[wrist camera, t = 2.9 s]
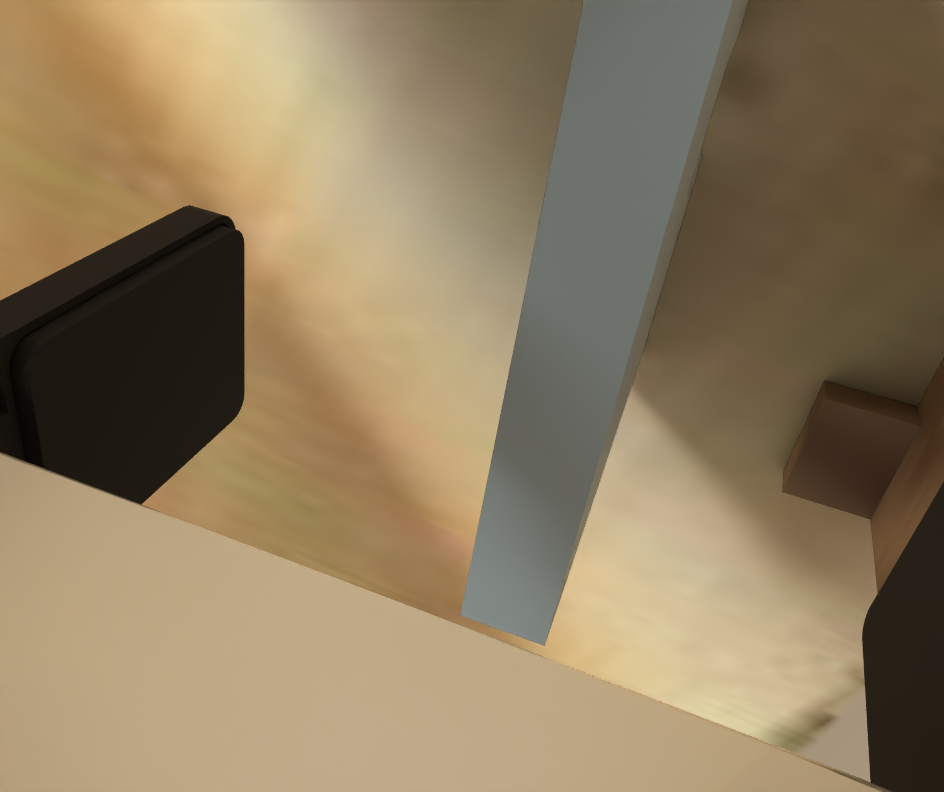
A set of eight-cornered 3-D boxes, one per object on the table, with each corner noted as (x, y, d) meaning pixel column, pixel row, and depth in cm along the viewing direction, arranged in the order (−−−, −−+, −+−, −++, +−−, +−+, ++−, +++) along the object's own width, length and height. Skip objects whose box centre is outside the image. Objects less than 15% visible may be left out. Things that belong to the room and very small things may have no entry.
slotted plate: (751, -300, 21) (683, -499, 9) (835, -288, 20) (873, -482, 9) (587, 339, 31) (460, 615, 19) (642, 355, 30) (544, 646, 19)
